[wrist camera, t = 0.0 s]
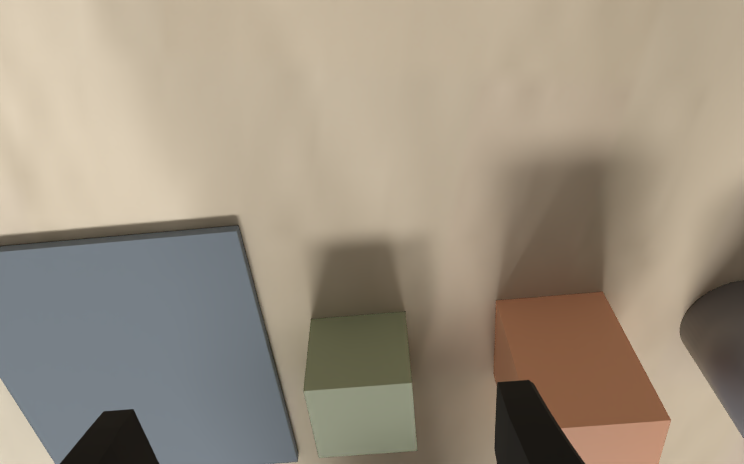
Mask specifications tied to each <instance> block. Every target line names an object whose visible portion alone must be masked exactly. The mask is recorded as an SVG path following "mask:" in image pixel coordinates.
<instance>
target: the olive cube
mask: <svg viewBox="0 0 744 464" xmlns="http://www.w3.org/2000/svg"><path fill="white" fill-rule="evenodd" d="M304 395H305V400H306V404H307V408H308V413H309V417H310V421H311V426H312V430H313V434H314V439H315V443H316V447H317V452H318V456H319V458H325V457H339V456H353V455H367V454H381V453H395V452H409V451H417V440H416V428H415V415H414V403H413V391H412V379H411V368H410V358H409V347H408V336H407V325H406V315H405V312H392V313H380V314H368V315H355V316H343V317H331V318H318V319H311V323H310V333H309V343H308V352H307V362H306V372H305V382H304Z"/></svg>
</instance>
